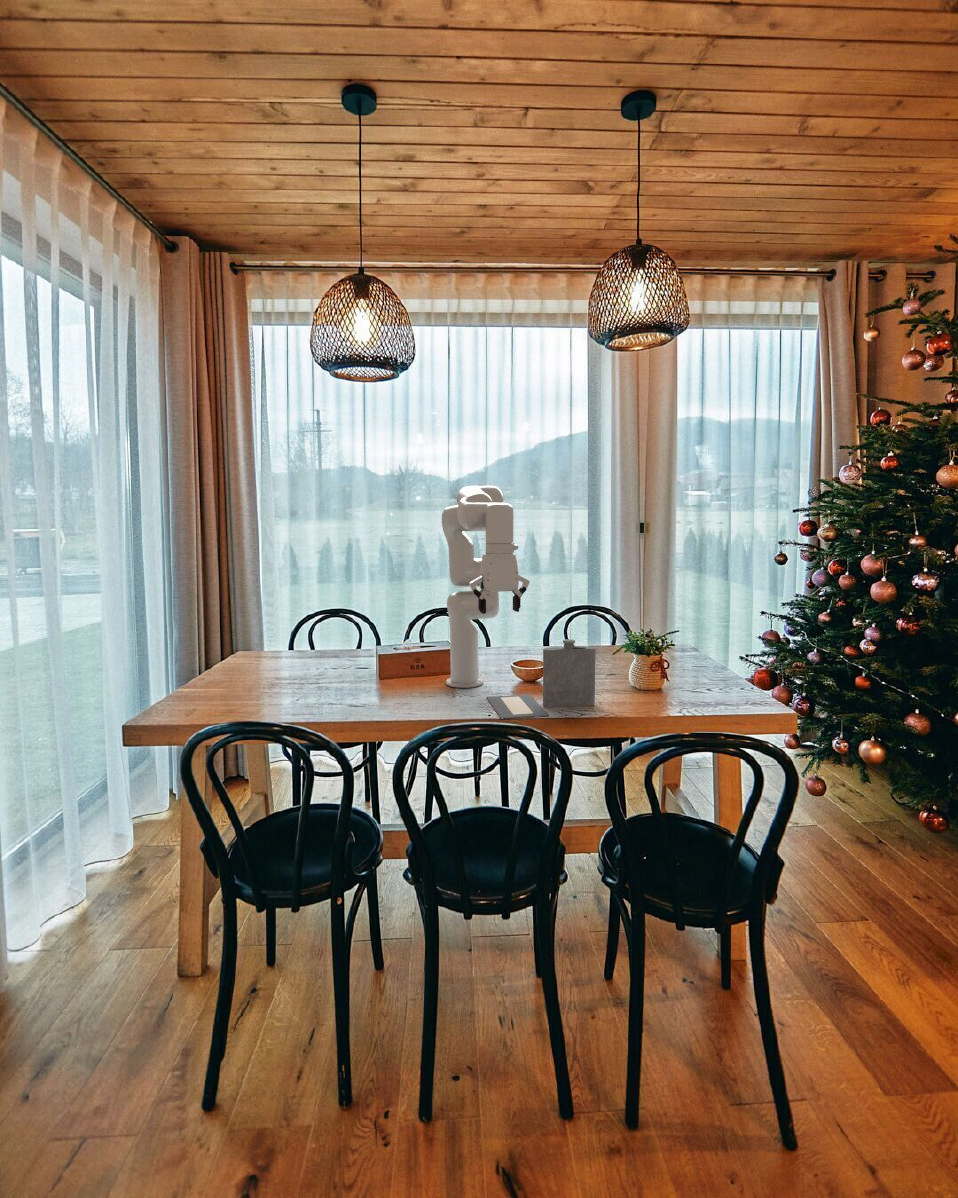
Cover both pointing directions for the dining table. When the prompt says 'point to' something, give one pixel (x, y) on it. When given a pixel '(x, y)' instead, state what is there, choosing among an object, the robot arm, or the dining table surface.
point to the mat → (516, 706)
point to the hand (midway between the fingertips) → (499, 612)
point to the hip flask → (569, 675)
